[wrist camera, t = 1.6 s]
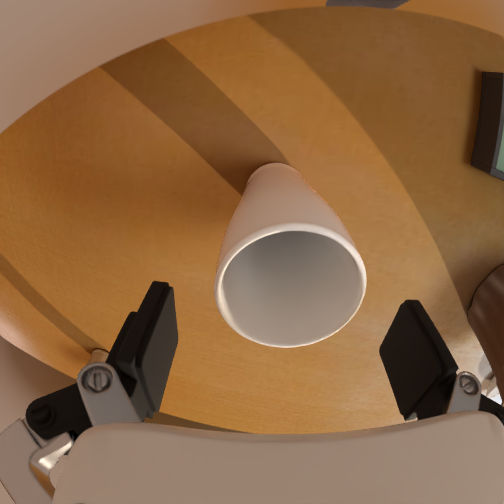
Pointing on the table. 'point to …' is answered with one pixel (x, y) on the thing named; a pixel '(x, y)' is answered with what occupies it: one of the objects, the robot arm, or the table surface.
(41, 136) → the table surface
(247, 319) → the white tapered cylinder
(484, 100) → the cup holder
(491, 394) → the spoon rest
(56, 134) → the table surface
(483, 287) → the plant pot
